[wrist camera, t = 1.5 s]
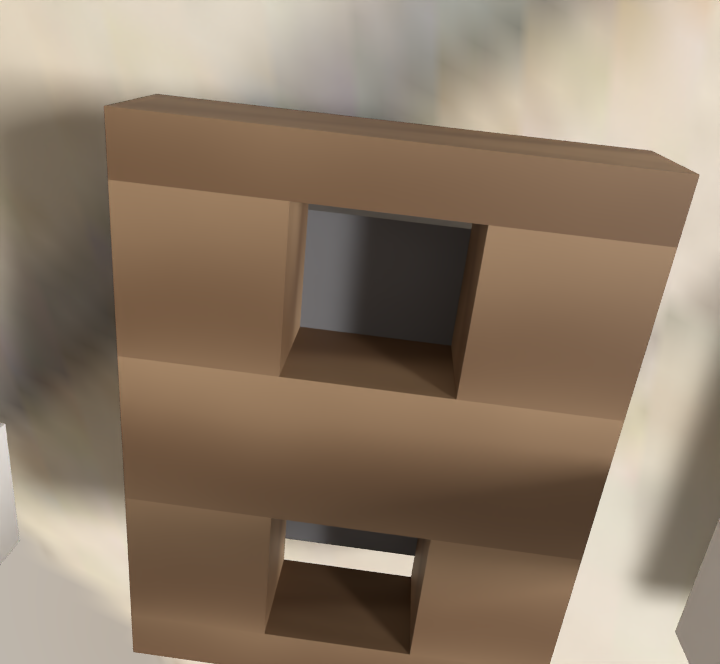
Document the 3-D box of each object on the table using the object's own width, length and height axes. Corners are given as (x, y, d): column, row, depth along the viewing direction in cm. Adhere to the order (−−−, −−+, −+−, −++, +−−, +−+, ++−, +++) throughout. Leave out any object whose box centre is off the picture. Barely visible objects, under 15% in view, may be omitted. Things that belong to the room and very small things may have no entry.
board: (156, 94, 14) (103, 105, 11) (652, 150, 13) (699, 174, 11) (167, 577, 19) (133, 652, 17) (521, 627, 19) (535, 709, 16)
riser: (284, 168, 18) (250, 202, 14) (507, 195, 18) (530, 235, 14) (269, 448, 22) (239, 532, 18) (454, 472, 22) (461, 562, 18)
